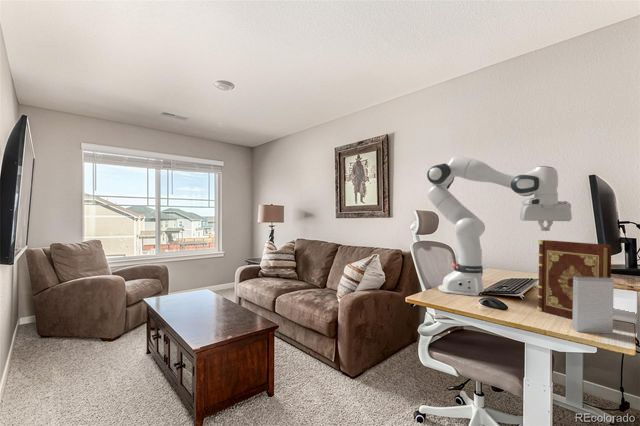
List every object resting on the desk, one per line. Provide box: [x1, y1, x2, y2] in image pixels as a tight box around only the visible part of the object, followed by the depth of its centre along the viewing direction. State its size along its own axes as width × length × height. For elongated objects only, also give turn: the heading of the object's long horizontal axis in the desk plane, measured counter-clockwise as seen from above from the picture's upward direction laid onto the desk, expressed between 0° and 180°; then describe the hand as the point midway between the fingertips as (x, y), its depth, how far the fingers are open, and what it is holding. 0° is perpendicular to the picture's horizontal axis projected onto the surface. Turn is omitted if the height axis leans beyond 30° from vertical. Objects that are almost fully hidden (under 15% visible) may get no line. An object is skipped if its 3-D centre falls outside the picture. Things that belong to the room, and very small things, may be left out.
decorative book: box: [536, 239, 612, 320], centre depth 122 cm, size 22×8×30 cm, turn 29°
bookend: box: [571, 276, 615, 335], centre depth 106 cm, size 11×2×19 cm, turn 81°
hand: (545, 230), depth 139 cm, fingers closed
